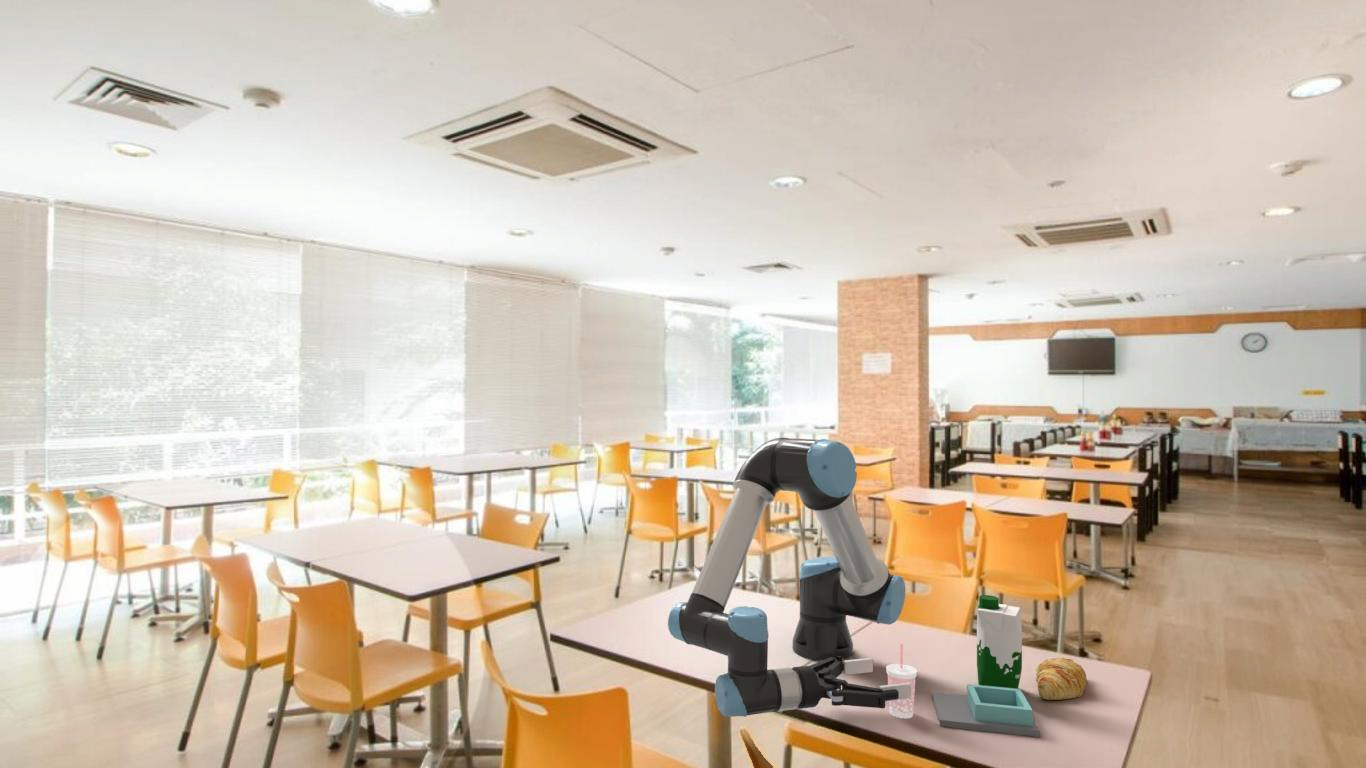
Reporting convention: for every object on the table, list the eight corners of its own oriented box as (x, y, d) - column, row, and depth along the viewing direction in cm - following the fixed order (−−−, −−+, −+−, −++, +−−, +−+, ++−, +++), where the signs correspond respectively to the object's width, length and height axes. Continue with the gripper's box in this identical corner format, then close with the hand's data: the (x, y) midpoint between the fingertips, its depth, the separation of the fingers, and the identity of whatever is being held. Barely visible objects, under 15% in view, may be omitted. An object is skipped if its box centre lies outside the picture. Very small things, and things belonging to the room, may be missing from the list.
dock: (939, 726, 140) (940, 704, 140) (931, 697, 154) (931, 677, 154) (1039, 737, 136) (1039, 714, 136) (1022, 706, 149) (1022, 686, 150)
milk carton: (980, 678, 164) (981, 591, 164) (1024, 687, 159) (1024, 597, 160) (973, 691, 157) (974, 600, 157) (1018, 701, 152) (1019, 607, 152)
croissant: (1057, 723, 149) (1076, 695, 147) (1013, 688, 156) (1031, 661, 153) (1089, 693, 164) (1108, 667, 161) (1048, 662, 170) (1065, 636, 168)
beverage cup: (913, 722, 141) (914, 651, 141) (882, 715, 144) (882, 646, 144) (919, 711, 147) (920, 642, 147) (889, 704, 150) (889, 637, 150)
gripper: (768, 682, 150) (857, 672, 156) (824, 737, 126) (927, 722, 132) (768, 646, 150) (858, 638, 156) (824, 694, 126) (927, 682, 132)
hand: (890, 676), depth 144 cm, fingers open, 13 cm apart
